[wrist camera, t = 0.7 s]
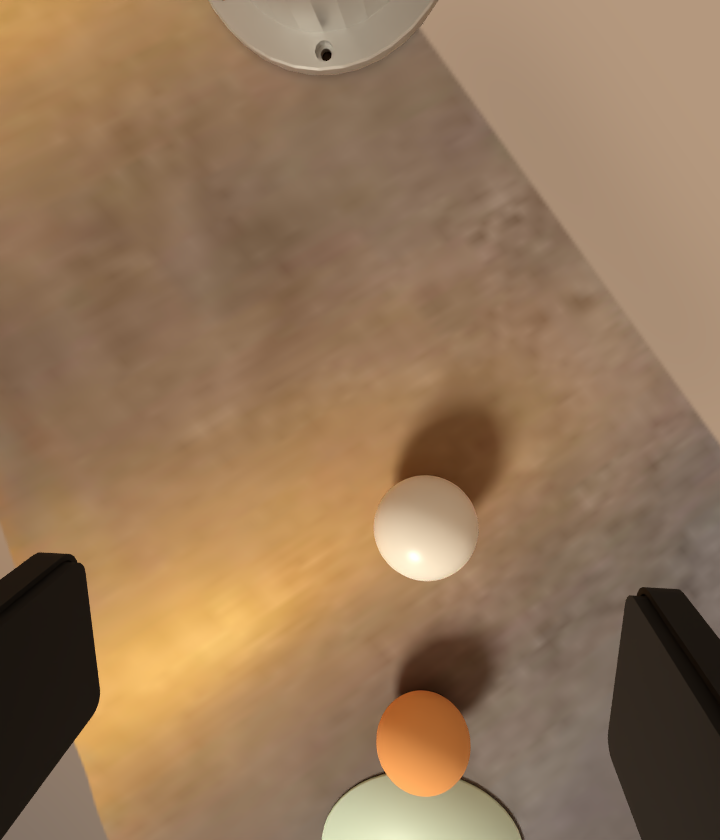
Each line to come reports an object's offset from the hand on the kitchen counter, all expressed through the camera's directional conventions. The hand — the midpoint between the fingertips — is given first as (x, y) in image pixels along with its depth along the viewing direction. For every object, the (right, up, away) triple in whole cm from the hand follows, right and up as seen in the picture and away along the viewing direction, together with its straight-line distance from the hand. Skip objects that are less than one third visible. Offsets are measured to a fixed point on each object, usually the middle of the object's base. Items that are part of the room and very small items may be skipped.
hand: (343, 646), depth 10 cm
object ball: (+4, -15, +26) cm, 30 cm away
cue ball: (+4, -2, +22) cm, 22 cm away
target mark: (+5, -26, +31) cm, 41 cm away
